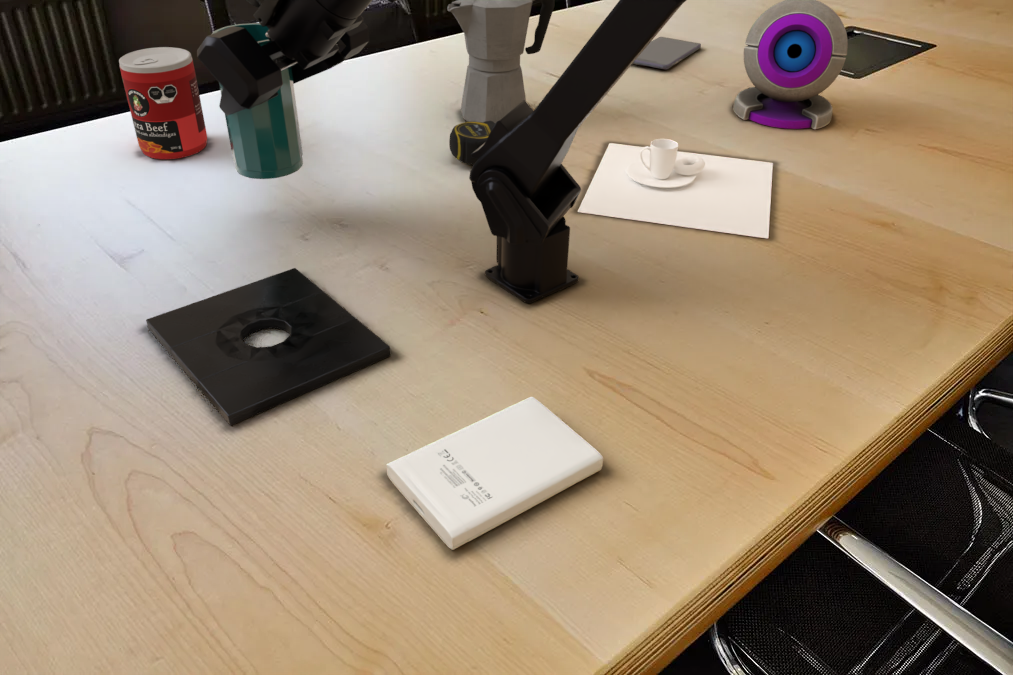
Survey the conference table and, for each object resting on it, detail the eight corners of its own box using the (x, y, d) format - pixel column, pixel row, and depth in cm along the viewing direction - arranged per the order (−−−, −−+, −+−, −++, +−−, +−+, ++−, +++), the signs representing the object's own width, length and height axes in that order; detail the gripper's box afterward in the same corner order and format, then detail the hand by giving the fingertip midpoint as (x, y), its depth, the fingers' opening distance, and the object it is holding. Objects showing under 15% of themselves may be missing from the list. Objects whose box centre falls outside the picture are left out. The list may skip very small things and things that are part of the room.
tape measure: (514, 167, 101) (515, 137, 99) (458, 173, 99) (457, 143, 97) (496, 145, 106) (497, 116, 104) (443, 151, 105) (442, 121, 102)
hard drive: (602, 472, 59) (452, 553, 53) (530, 410, 65) (386, 477, 59) (604, 455, 59) (452, 535, 52) (531, 393, 64) (385, 459, 58)
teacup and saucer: (704, 168, 102) (710, 135, 99) (698, 196, 95) (704, 162, 93) (631, 159, 104) (635, 126, 101) (620, 186, 97) (624, 152, 95)
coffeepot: (468, 135, 109) (467, -14, 98) (434, 112, 115) (429, -30, 105) (567, 115, 115) (576, -27, 105) (530, 93, 122) (535, -42, 112)
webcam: (728, 122, 114) (748, 5, 105) (738, 92, 124) (758, -17, 115) (829, 136, 111) (859, 16, 102) (832, 104, 121) (859, -8, 112)
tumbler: (316, 158, 87) (300, 28, 80) (276, 184, 82) (255, 47, 75) (263, 148, 90) (242, 19, 82) (221, 172, 84) (195, 37, 77)
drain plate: (391, 356, 70) (390, 346, 70) (230, 426, 63) (228, 415, 62) (296, 276, 80) (295, 267, 79) (148, 329, 73) (145, 319, 72)
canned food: (126, 152, 103) (103, 60, 96) (176, 131, 108) (157, 42, 102) (173, 165, 100) (152, 71, 93) (222, 142, 106) (205, 52, 99)
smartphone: (703, 43, 141) (667, 65, 130) (702, 49, 141) (667, 71, 130) (660, 35, 144) (622, 56, 133) (659, 41, 144) (621, 63, 134)
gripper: (330, -104, 78) (250, 8, 88) (192, -70, 64) (115, 58, 74) (410, -4, 80) (323, 94, 90) (293, 49, 66) (206, 159, 76)
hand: (247, 98), depth 83 cm, fingers closed on tumbler, 7 cm apart
